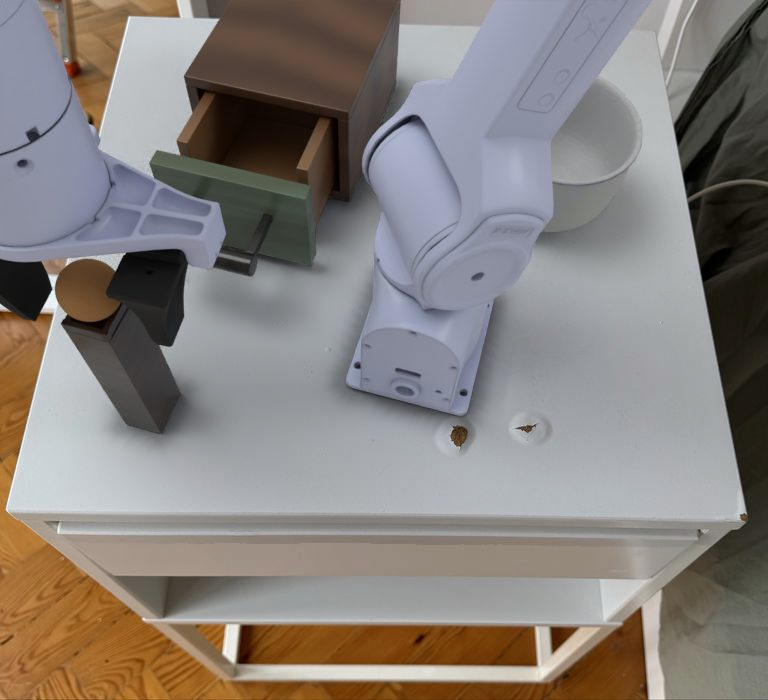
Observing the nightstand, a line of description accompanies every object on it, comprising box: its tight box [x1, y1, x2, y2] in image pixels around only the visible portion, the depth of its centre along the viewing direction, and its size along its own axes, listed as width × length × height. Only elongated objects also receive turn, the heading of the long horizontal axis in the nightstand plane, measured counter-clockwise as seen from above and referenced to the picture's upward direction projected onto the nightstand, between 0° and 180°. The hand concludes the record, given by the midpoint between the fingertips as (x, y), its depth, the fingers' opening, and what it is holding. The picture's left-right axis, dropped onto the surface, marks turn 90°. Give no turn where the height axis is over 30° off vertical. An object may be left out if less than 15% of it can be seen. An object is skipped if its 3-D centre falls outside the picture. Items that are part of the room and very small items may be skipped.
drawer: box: [148, 90, 339, 278], centre depth 50 cm, size 17×10×7 cm, turn 165°
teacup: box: [541, 75, 644, 233], centre depth 52 cm, size 14×11×8 cm
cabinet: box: [183, 0, 402, 202], centre depth 55 cm, size 14×12×9 cm
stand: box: [60, 303, 182, 435], centre depth 41 cm, size 3×2×12 cm
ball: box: [54, 258, 121, 322], centre depth 35 cm, size 3×3×3 cm
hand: (104, 316), depth 37 cm, fingers open, 6 cm apart
